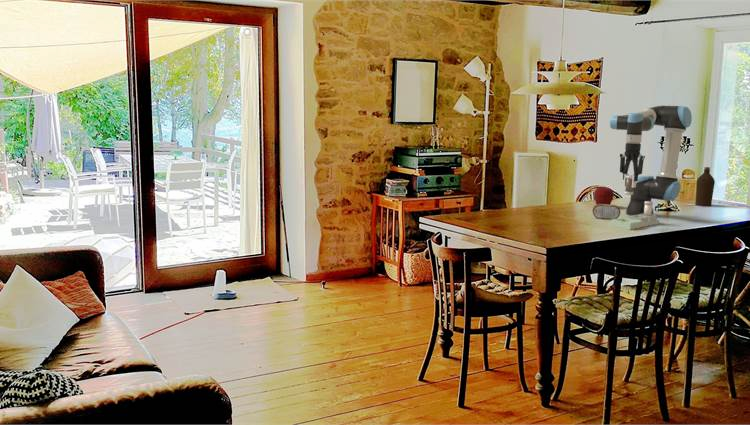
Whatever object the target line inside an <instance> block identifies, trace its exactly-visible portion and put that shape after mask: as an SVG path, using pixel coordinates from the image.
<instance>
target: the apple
mask: <svg viewBox="0 0 750 425" xmlns="http://www.w3.org/2000/svg"><path fill="white" fill-rule="evenodd" d="M614 194H615V193H614V191H613V189H612V188H610V187H605V186H600V187H596V189H595V190H594V192H593V195H594V201H595V205H597V204H609V205H612V202H613V199H614Z"/></svg>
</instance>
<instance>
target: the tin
mask: <svg viewBox="0 0 750 425" xmlns="http://www.w3.org/2000/svg"><path fill="white" fill-rule="evenodd" d="M592 215H593V216H594V217H595V218H596V219H601V220H611V219H617V218H620V215H621V209H620V207H619V206H618V205H616V204H610V205H609V204H595V205H594V206H593V207H592Z"/></svg>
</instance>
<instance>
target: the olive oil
mask: <svg viewBox="0 0 750 425" xmlns="http://www.w3.org/2000/svg"><path fill="white" fill-rule="evenodd" d="M710 172H711V167H710V166H709V167H708V166H705V167H704V170H703V173H702V174H700V176H699V177H698V178H697V179H696V188H695V190H696V191H695V206H698V207H711V206H712V202H713V196H714V188H715V184H716V182H715V178H714V176H712V174H710Z"/></svg>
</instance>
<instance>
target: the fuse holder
mask: <svg viewBox="0 0 750 425" xmlns="http://www.w3.org/2000/svg"><path fill="white" fill-rule="evenodd" d="M627 218H628V219H634V220H640V221H643V226H644V227H649V226H654V225H655V226H656V225H659V224H660V219H658V215H657V214H653V215H652V214H651V216H645V215H644V214H638V215H628V217H627ZM648 225H649V226H648Z"/></svg>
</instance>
